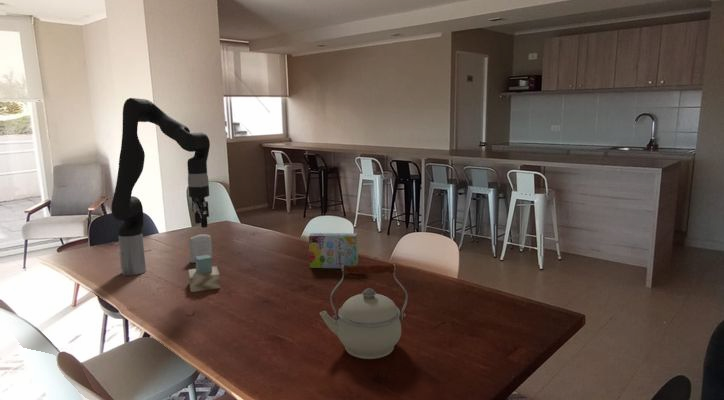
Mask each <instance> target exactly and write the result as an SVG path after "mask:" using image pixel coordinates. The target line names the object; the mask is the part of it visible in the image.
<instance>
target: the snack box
mask: <svg viewBox="0 0 724 400" xmlns="http://www.w3.org/2000/svg"><path fill="white" fill-rule="evenodd" d="M358 238H359V237H358V233H356V232H355V233H354V232H353V233H352V232H350V233H349V232H348V233H347V232H345V233H344V232H343V233H342V232H335V233H333V232H311V233H310V234H309V236H308V244H309V245H308V246H309V247H308V249H309V268H311V269H316V268H317V269H342V268H343V265H348V266H354V265H359V252H358V251H359V249H358V248H359V247H358V244H359V243H358V241H359V239H358Z"/></svg>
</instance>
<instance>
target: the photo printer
mask: <svg viewBox="0 0 724 400" xmlns="http://www.w3.org/2000/svg"><path fill="white" fill-rule="evenodd" d="M188 243H189V245H188V246H189V257H190V259H189V260H190V263H196V262H195V257H196V256H202V255H209V256H210V257H211V260H212V259H213V248H212V247H213V246H212V245H213V244H212V236H211V235H210V234H197V235H195V236H192V237H190V238H189V241H188Z"/></svg>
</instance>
